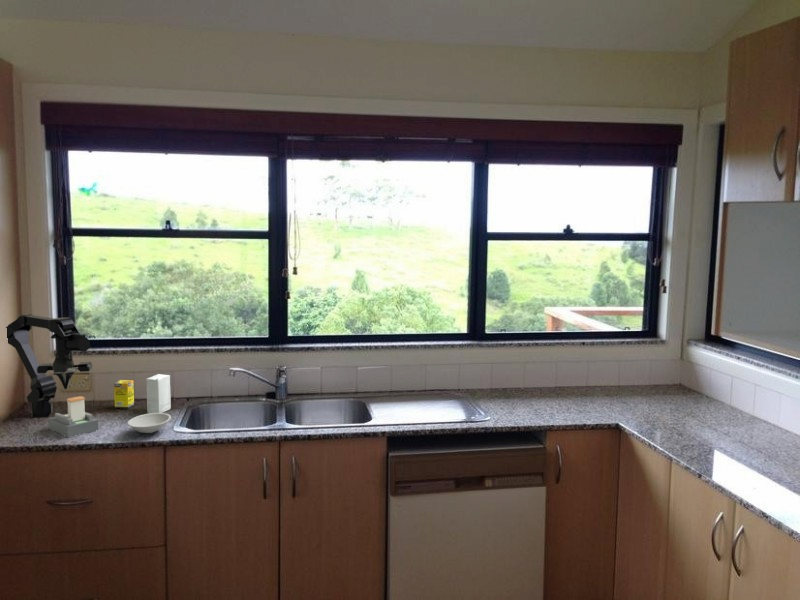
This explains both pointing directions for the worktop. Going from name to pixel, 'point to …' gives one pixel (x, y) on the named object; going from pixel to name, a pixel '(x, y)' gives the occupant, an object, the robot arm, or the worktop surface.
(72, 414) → the handle
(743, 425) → the worktop surface
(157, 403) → the skincare box
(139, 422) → the dish
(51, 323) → the robot arm
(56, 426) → the grey holder base
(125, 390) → the supplement box
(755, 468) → the worktop surface
